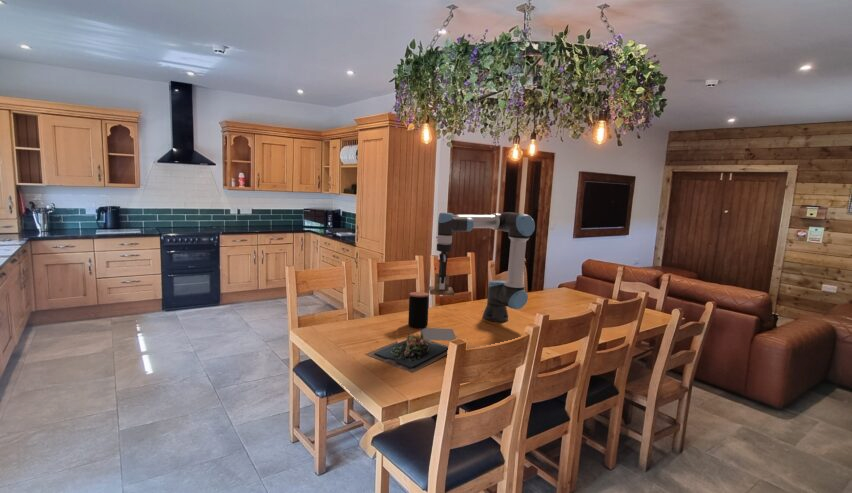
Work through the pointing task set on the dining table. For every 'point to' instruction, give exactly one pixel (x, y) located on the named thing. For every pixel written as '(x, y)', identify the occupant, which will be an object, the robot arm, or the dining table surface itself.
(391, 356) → the plated dish
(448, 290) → the lid
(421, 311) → the coffee jar
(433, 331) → the mat
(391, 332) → the dining table surface
